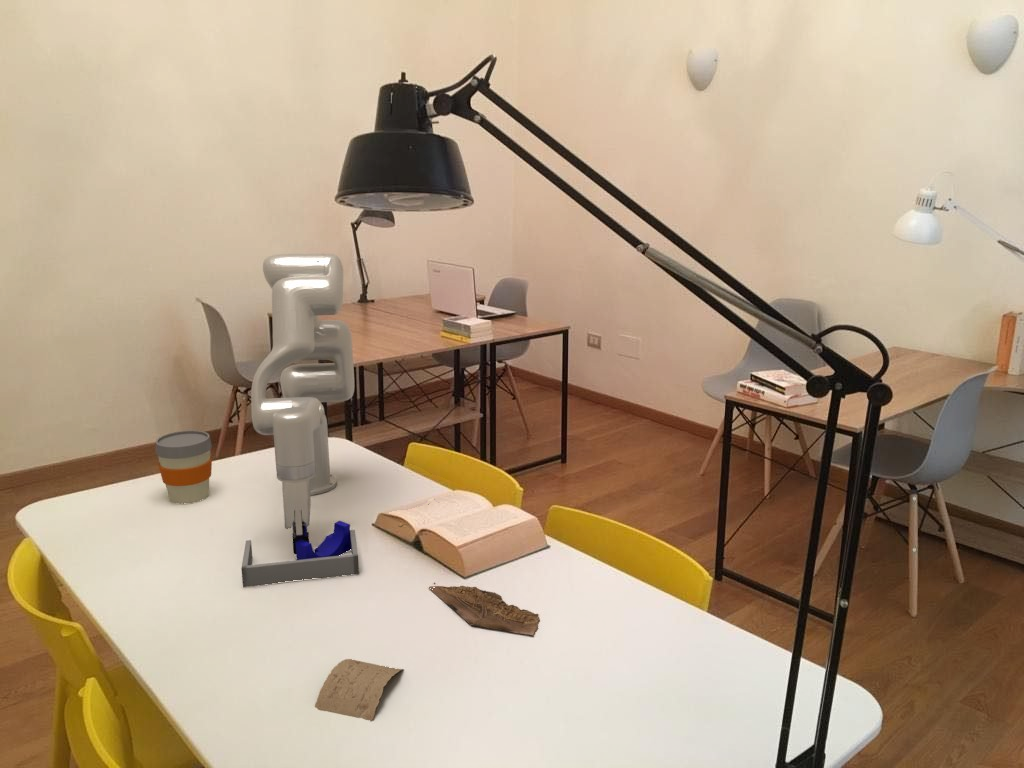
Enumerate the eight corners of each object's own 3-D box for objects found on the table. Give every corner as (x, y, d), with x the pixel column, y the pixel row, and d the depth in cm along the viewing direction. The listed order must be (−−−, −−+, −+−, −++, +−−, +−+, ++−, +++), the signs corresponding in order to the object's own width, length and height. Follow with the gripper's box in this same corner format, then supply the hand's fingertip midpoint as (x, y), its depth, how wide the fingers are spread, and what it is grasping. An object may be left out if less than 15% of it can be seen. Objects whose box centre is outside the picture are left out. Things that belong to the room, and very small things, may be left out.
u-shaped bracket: (247, 558, 163) (245, 540, 162) (355, 546, 168) (354, 529, 167) (243, 587, 152) (241, 568, 151) (359, 574, 157) (358, 555, 156)
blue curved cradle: (336, 544, 170) (334, 518, 168) (351, 550, 167) (349, 524, 166) (292, 567, 160) (290, 540, 159) (307, 573, 158) (305, 546, 156)
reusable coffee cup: (205, 507, 187) (198, 447, 183) (152, 507, 187) (144, 447, 183) (224, 486, 199) (218, 430, 195) (174, 486, 199) (167, 429, 195)
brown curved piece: (372, 727, 115) (371, 711, 115) (308, 716, 118) (307, 700, 117) (407, 668, 129) (406, 654, 128) (350, 659, 131) (349, 645, 131)
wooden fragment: (555, 624, 141) (555, 619, 141) (514, 651, 133) (514, 646, 133) (454, 576, 158) (454, 571, 157) (412, 597, 150) (412, 592, 149)
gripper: (277, 457, 164) (283, 537, 169) (274, 484, 150) (281, 571, 155) (314, 454, 166) (319, 534, 171) (315, 481, 152) (320, 567, 157)
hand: (301, 551), depth 163 cm, fingers closed
